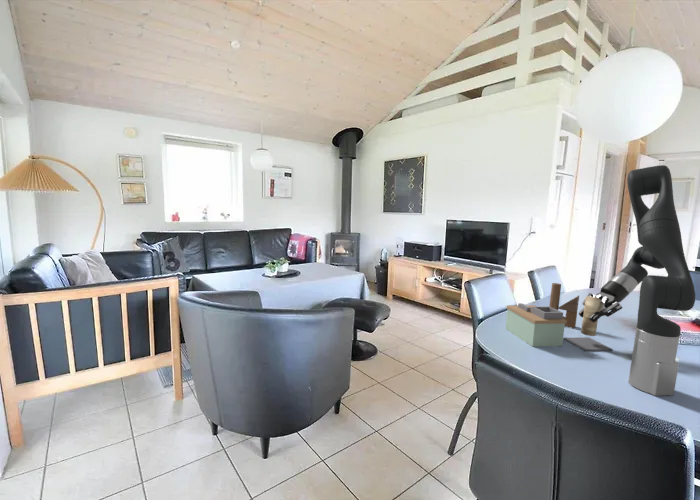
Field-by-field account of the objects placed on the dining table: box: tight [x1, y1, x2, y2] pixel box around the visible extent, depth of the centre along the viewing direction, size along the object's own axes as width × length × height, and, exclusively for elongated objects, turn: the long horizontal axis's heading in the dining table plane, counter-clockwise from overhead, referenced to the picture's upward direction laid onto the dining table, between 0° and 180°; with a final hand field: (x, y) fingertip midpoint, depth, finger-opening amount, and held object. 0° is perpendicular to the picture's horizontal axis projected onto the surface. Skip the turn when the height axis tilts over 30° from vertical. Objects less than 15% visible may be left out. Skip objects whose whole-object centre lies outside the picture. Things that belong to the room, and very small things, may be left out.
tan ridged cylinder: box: [580, 296, 601, 337], centre depth 129 cm, size 5×5×14 cm
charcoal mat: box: [563, 336, 613, 352], centre depth 130 cm, size 11×11×1 cm
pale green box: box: [505, 303, 567, 348], centre depth 135 cm, size 19×13×13 cm
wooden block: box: [548, 282, 580, 329], centre depth 151 cm, size 4×11×18 cm, turn 46°
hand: (585, 317), depth 128 cm, fingers closed on tan ridged cylinder, 4 cm apart
